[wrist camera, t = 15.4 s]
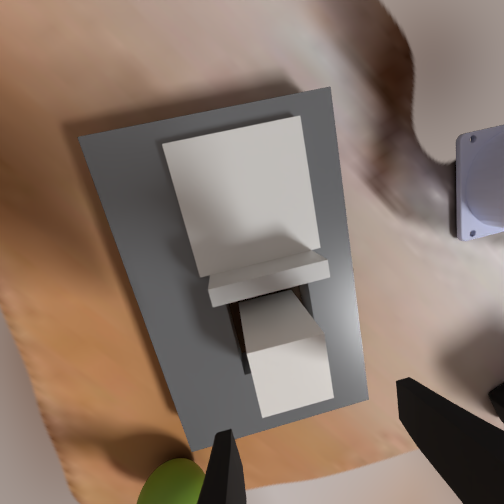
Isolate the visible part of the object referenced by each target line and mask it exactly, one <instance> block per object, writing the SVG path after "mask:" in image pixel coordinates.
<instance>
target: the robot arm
mask: <svg viewBox="0 0 504 504" xmlns="http://www.w3.org/2000/svg"><path fill="white" fill-rule="evenodd" d="M470 137H471V142H470ZM456 192H457V238H458V239H459V240H461V241H468V240H472V239H476V238H480V237H484V236H488V235H492V234H496V233H500V232H503V231H504V125H500V126H496V127H491V128H487V129H483V130H478V131H473V132H469V133H465V134H462V135H460V136H459V137H458V138H457V140H456ZM470 232H471V234H470ZM396 386H397V398H398V410H399V419H400V421H401V422H402V424H403V425H404V427H405V429H406V430H407V432H408V433H409V435H410V436H411V438H412V439H413V441H414V442H415V443H416V445H417V446H418V448H419V449H420V450H421V452H422V453H423V454H424V455H425V457H426V458H427V459H428V460H429V462H430V463H431V464H432V465H433V467H434V468H435V469H436V470H437V472H438V473H439V474H440V475H441V477H442V478H443V479H444V480H445V481H446V483H447V484H448V485H449V486H450V488H451V489H452V490H453V491H454V493H455V494H456V495H457V496H458V498H459V499H460V500H461V501H462V503H463V504H504V431H503V430H501V429H499V428H497V427H496V426H494V425H492V424H490V423H488V422H486V421H484V420H482V419H481V418H479V417H477V416H475V415H473V414H472V413H470V412H468V411H466V410H465V409H463V408H461V407H459V406H458V405H456V404H454V403H452V402H451V401H449V400H447V399H446V398H444V397H442V396H440V395H439V394H437V393H435V392H434V391H432V390H430V389H429V388H427V387H425V386H424V385H422V384H420V383H419V382H417V381H415V380H413V379H412V378H410V377H408V378H405V379H401V380H398V381H396ZM197 504H246V492H245V483H244V474H243V466H242V462H241V459H240V456H239V452H238V449H237V446H236V442H235V439H234V435H233V432H232V429H228V430H225V431H221V432H218V433H216V435H215V437H214V442H213V447H212V451H211V455H210V459H209V463H208V467H207V471H206V474H205V478H204V481H203V485H202V488H201V491H200V495H199V498H198V501H197Z"/></svg>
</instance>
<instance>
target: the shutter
mask: <svg viewBox="0 0 504 504" xmlns="http://www.w3.org/2000/svg"><path fill="white" fill-rule="evenodd" d="M162 146H163V150H164V153H165V157H166V160H167V164H168V167H169V171H170V174H171V178H172V181H173V185H174V188H175V192H176V195H177V199H178V202H179V206H180V209H181V212H182V216H183V219H184V223H185V226H186V230H187V233H188V237H189V240H190V244H191V247H192V251H193V254H194V258H195V261H196V265H197V268H198V272H199V275H200V277H204V276H208V275H210V279H209V286H208V292H209V295H210V299H211V303H212V306H213V307H217V306H221V305H224V304H228V303H232V302H236V301H240V300H244V299H248V298H252V297H256V296H259V295H263V294H267V293H271V292H275V291H279V290H283V289H287V288H291V287H294V286H298V285H302V284H306V283H310V282H314V281H318V280H322V279H326V278H329V277H330V271H329V265H328V260H327V259H326V258H324V257H322V256H321V255H319V254H317V253H316V252H314V251H312V250H314V249H318V248H321V247H320V241H319V234H318V228H317V221H316V215H315V208H314V202H313V195H312V189H311V182H310V176H309V169H308V163H307V156H306V149H305V143H304V136H303V130H302V123H301V117H300V116H295V117H290V118H285V119H281V120H276V121H271V122H266V123H261V124H256V125H252V126H247V127H242V128H237V129H232V130H227V131H223V132H218V133H213V134H208V135H203V136H198V137H193V138H189V139H184V140H179V141H174V142H169V143H164V144H162Z"/></svg>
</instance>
